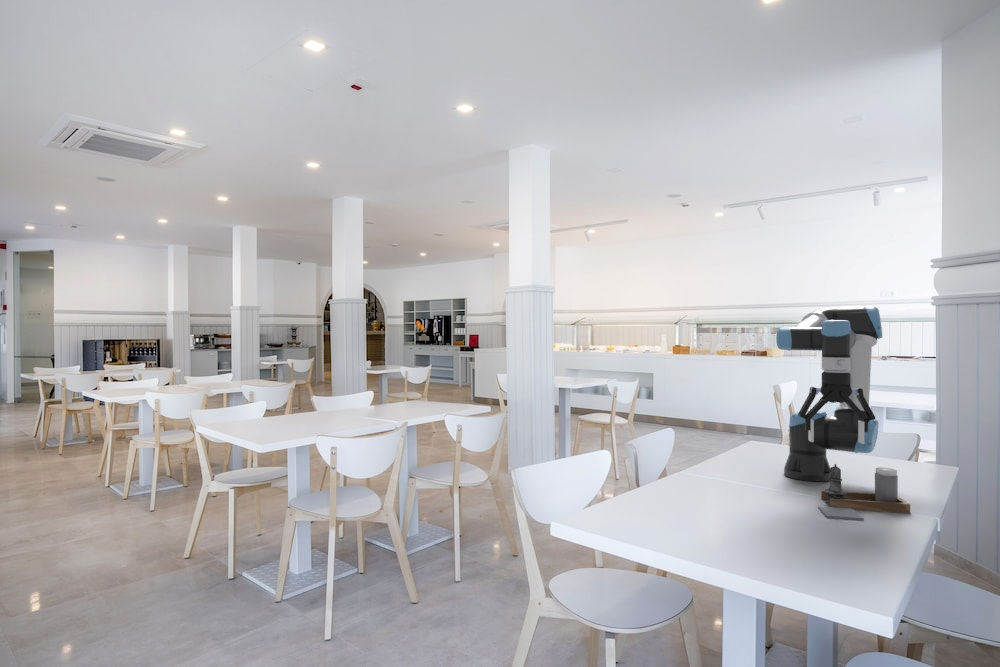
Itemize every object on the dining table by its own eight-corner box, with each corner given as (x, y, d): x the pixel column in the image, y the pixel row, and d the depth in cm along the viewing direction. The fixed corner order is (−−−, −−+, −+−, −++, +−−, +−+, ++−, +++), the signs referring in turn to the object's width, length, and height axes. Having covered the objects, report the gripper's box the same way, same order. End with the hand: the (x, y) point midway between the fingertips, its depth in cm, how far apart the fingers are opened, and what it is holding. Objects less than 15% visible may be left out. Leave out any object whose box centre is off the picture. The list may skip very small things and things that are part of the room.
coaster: (817, 508, 168) (817, 506, 168) (852, 510, 166) (852, 508, 166) (827, 517, 160) (827, 515, 160) (863, 520, 157) (863, 518, 157)
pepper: (871, 503, 173) (871, 466, 173) (892, 504, 172) (892, 467, 172) (879, 508, 168) (879, 471, 168) (901, 510, 166) (901, 472, 166)
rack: (820, 498, 179) (820, 490, 179) (894, 502, 174) (894, 494, 174) (831, 508, 169) (831, 499, 169) (910, 513, 164) (910, 504, 164)
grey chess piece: (849, 507, 170) (849, 466, 170) (828, 505, 171) (828, 465, 171) (842, 501, 175) (842, 462, 175) (821, 500, 177) (821, 461, 177)
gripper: (793, 371, 172) (793, 442, 172) (888, 372, 166) (888, 446, 166) (787, 370, 180) (787, 438, 180) (877, 371, 174) (877, 441, 174)
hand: (835, 442), depth 173 cm, fingers open, 13 cm apart
